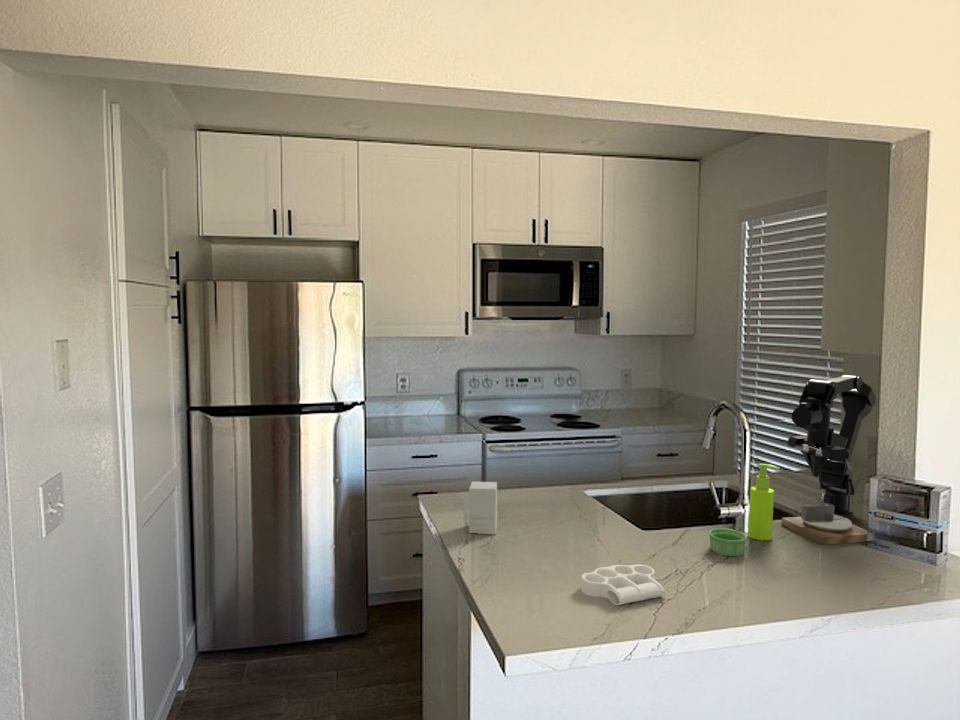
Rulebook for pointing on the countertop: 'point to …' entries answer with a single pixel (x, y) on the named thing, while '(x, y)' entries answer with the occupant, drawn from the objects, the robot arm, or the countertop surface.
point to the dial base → (825, 532)
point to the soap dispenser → (761, 506)
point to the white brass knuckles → (622, 583)
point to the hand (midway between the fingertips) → (815, 476)
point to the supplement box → (483, 507)
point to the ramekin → (727, 541)
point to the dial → (824, 518)
